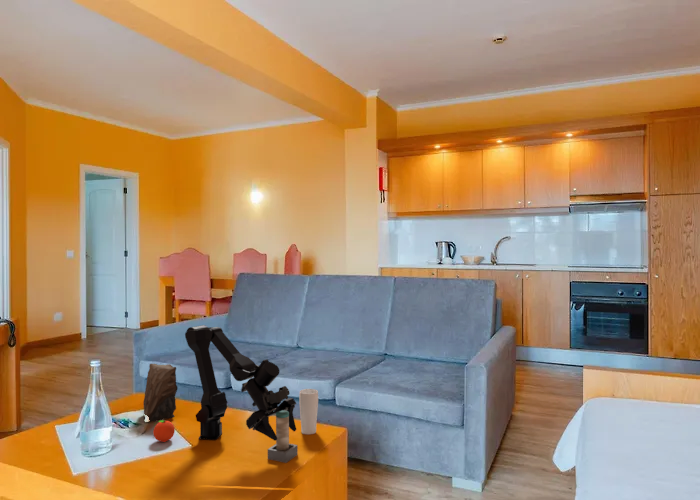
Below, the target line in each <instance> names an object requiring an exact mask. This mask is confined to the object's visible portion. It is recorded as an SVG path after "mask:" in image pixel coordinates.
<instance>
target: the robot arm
mask: <svg viewBox="0 0 700 500" xmlns="http://www.w3.org/2000/svg"><path fill="white" fill-rule="evenodd" d="M184 335H185V340H186V343H187V346H188V347H189V349H190V350H191V351H192V352H193V353H194V356H195V357H194V358H195V361H196V365H197V371H198V374H199V379H200V383H201V388H202V396H201V400H200V406H201V408H200V409H199V410H198V412H197V413H196V414H195V420H196V422H199V423H200V426H199V427H200V428H199V429H200V431H199V432H200V433H199V435H200V436H198V440H207V441H209V440H212V441H213V440H215V441H216V440H218V438H220V437H221V435H222V434H223V422H222V421H221V418H224V417H225V414H226V411H227V409H228V403H229V402H228V400H227V396H226V392H224V391H223V392H221V390H220V389H219V388H218V385H217V380H216V376H215V370H214V368H213V367H214V366H213V362H212V357H211V353H210V346H211V343H212V345H214V346H215V348H216V350H217V351H218V352H219V353H220V354H221V356H222V357H223V358H224V359H225V360H226V362H227V363H228V365H229V367H228V368H229V371H230V373H231V375H232V377H233V379H235V381H237V382H242V381H246V380H247V381H246V382H244V383H241V388H240V389H241V390H240V392H241V393H245V392H247V393H248V395H249V396H250V398H251V400H252V401H253V403H252V404H251V406H252V407H256V408H257V409H258V410H256V411H253V412H252V413H251V414H250V415H249V417H248V418H247V419H246V420H245V426H246V427H247V428H248V430H251V429H252V430H253V431H257V432H258V433H261V434H263V435H264V436H266V437H268V438H269V439H271V440H273V441H275V442H276V440H277V436H276V431H274V429H273V426H272V425H271V424H270V418H269V417H272V416H274V415H276V412H278V411H288V412H289V430H290V429H291V430H292V432H296V431H297V426H296V423H295V417H294V409H295V408H296V405H297V402H296V401H295V399H294V398H292V397H289V395H290V390H289V389H288V387H287V386H286V385H284V386H281V387H279V388H278V391H276V392H274V391H273V390H272V389H271V390H269V389H268V388H267V387H269V386H271V384H272V383H273V381H275V380H276V378H277V377H278V376H279V375H280V368H279V366H278V365H276V363H273V362H272V361H269V359H263V360H262V361H261V362H260V364H259V365H258V364H256V363H255V361H253V360H252V359H251V358H249V357H248V356H246V355H244V354H242V353H241V352H240V351H239V349H237V347H236V346H235V345H234V344H233V343H232V341H231V340H230V339H229V338H228V336H227V335H226V334H225V333H224V330H223V328H221V327H219V326H215V327H214V326H213V327H210V326H207V325H203V324H202V325H196V326H191V327H188V328H187V329H186V331H185V333H184Z"/></svg>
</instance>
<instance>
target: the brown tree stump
mask: <svg viewBox="0 0 700 500" xmlns="http://www.w3.org/2000/svg"><path fill="white" fill-rule="evenodd" d="M148 367H149V370H148V371H147V377H146V385H145V390H144V398H143V415H144V414H145V415H147V416H148V417H149V420H150V421H153V422H157V421H156V420H158V421H161V420H162V419H164V420H168V419H172V418H175V416H176V415H174V413H175V411H176V410H177V404H176V395H177V391H178V385H177V374H176V371H177V367H176V366H173V365H171V364H169V363H167V364H158V363H149V366H148Z"/></svg>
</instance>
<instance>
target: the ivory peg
mask: <svg viewBox="0 0 700 500" xmlns="http://www.w3.org/2000/svg"><path fill="white" fill-rule="evenodd" d="M275 434H276V436H277V440H276V441H275V444H276V450H280V451H284V452H286V451H287V450H289V444H290V428H289V412H288V411H278V412H276V414H275Z"/></svg>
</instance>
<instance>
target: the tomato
mask: <svg viewBox="0 0 700 500" xmlns="http://www.w3.org/2000/svg"><path fill="white" fill-rule="evenodd" d="M153 427H154V428H153V437H154V439H155V440H157V441H158V442H160V443H164V442H168V441H170V440H171V439H172V438H173V437H174V434H175V430H176V428H175V426H174V424H173V423H172V422H171V421H170V420H158V421H155V423H154V425H153Z"/></svg>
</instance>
